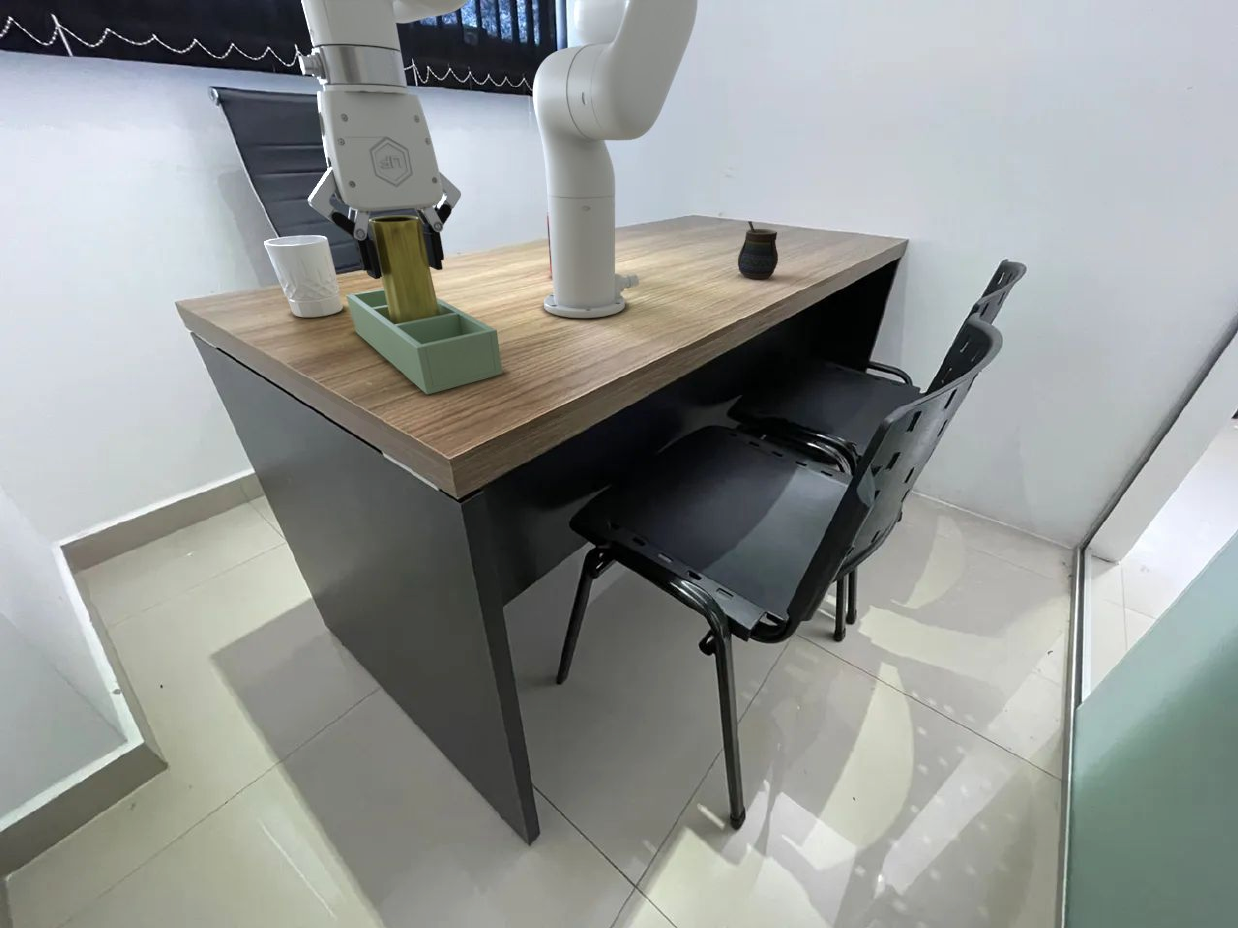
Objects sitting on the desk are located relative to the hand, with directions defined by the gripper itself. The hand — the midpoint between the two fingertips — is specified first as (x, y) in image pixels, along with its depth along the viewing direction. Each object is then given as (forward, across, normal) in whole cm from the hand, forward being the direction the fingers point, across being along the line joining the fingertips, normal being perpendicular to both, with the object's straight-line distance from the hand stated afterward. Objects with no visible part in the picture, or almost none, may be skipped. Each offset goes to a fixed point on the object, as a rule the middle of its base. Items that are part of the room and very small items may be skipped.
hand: (405, 270), depth 58 cm
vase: (+9, 0, 0) cm, 9 cm away
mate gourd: (+10, +64, -1) cm, 65 cm away
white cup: (+10, -6, +26) cm, 28 cm away
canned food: (+10, +37, +21) cm, 44 cm away
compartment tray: (+10, 0, 0) cm, 10 cm away
